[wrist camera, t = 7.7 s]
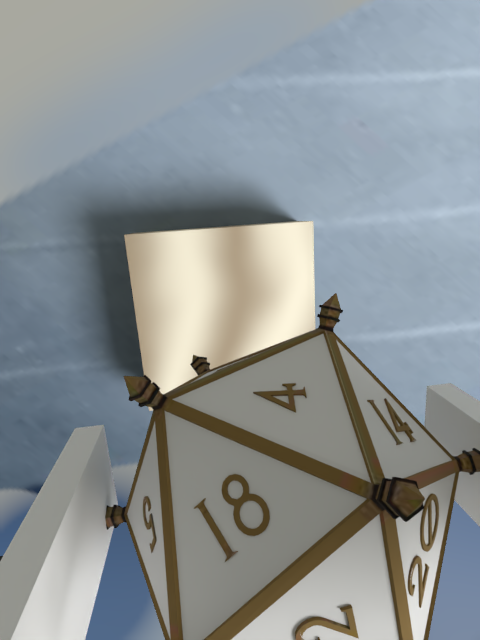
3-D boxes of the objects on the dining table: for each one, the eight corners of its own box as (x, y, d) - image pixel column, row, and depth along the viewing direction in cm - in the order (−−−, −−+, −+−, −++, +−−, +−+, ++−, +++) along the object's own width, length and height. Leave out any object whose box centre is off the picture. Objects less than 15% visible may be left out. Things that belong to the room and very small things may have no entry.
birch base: (154, 386, 31) (149, 410, 27) (133, 232, 28) (124, 234, 24) (301, 370, 32) (316, 391, 28) (297, 221, 29) (313, 221, 25)
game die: (236, 328, 16) (372, 145, 7) (380, 482, 15) (727, 484, 7) (44, 493, 12) (-164, 526, 3) (224, 714, 11) (578, 1523, 3)
